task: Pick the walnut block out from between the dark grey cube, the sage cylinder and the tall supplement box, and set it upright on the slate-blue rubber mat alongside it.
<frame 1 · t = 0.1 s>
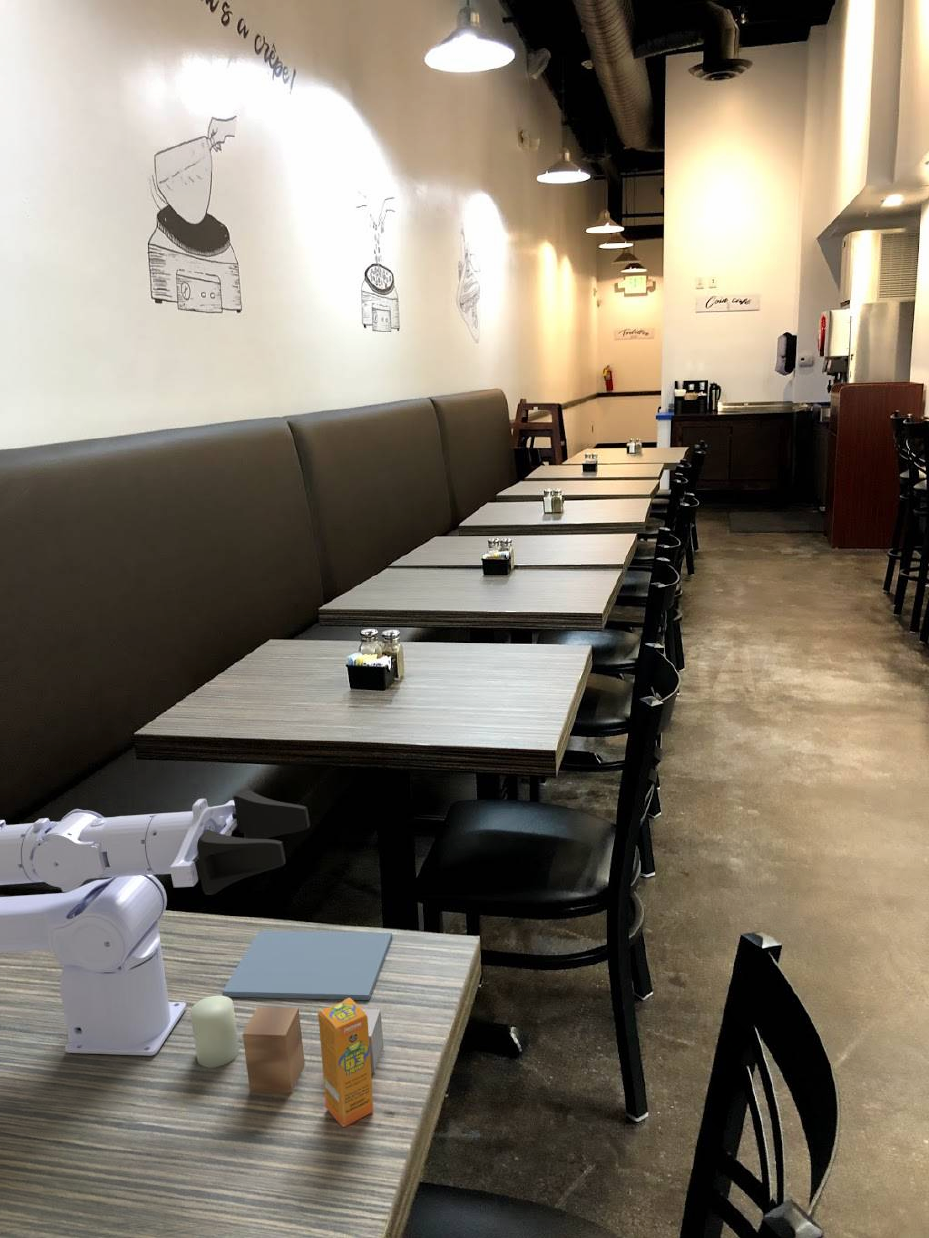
hand: (295, 834, 91), 22 cm above the table, tool horizontal, fingers open, 7 cm apart
supplement box: (351, 1113, 85), on the table
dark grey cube: (358, 1059, 92), on the table
sage cylinder: (218, 1053, 94), on the table
walnut block: (277, 1077, 90), on the table
slate mat: (311, 965, 108), on the table
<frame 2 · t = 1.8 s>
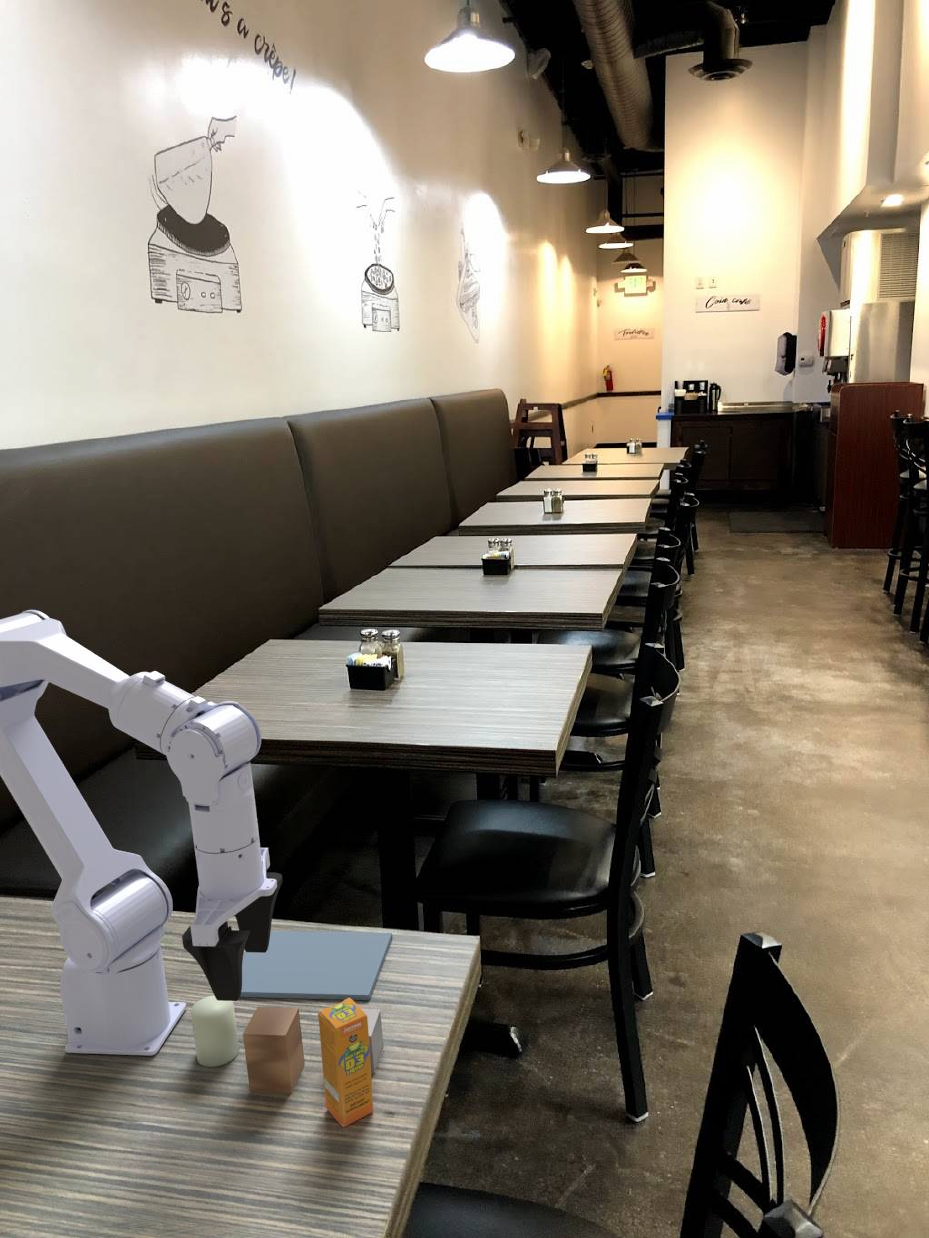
hand: (243, 973, 91), 9 cm above the table, tool pointing down, fingers open, 7 cm apart
nothing on the table moved.
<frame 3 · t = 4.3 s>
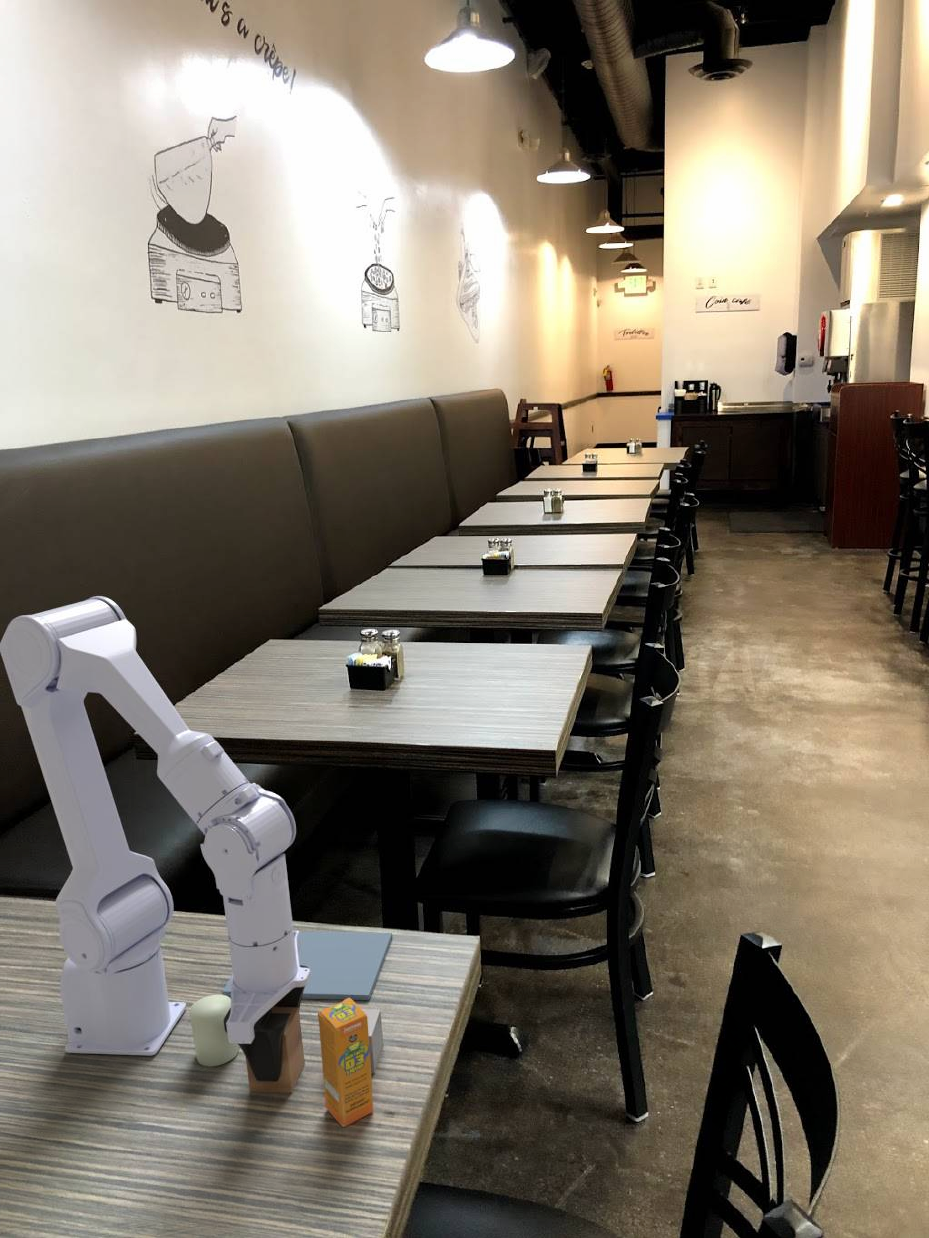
hand: (276, 1061, 90), 2 cm above the table, tool pointing down, fingers closed on walnut block, 4 cm apart
walnut block: (277, 1076, 90), on the table, touching gripper
everything else where it was.
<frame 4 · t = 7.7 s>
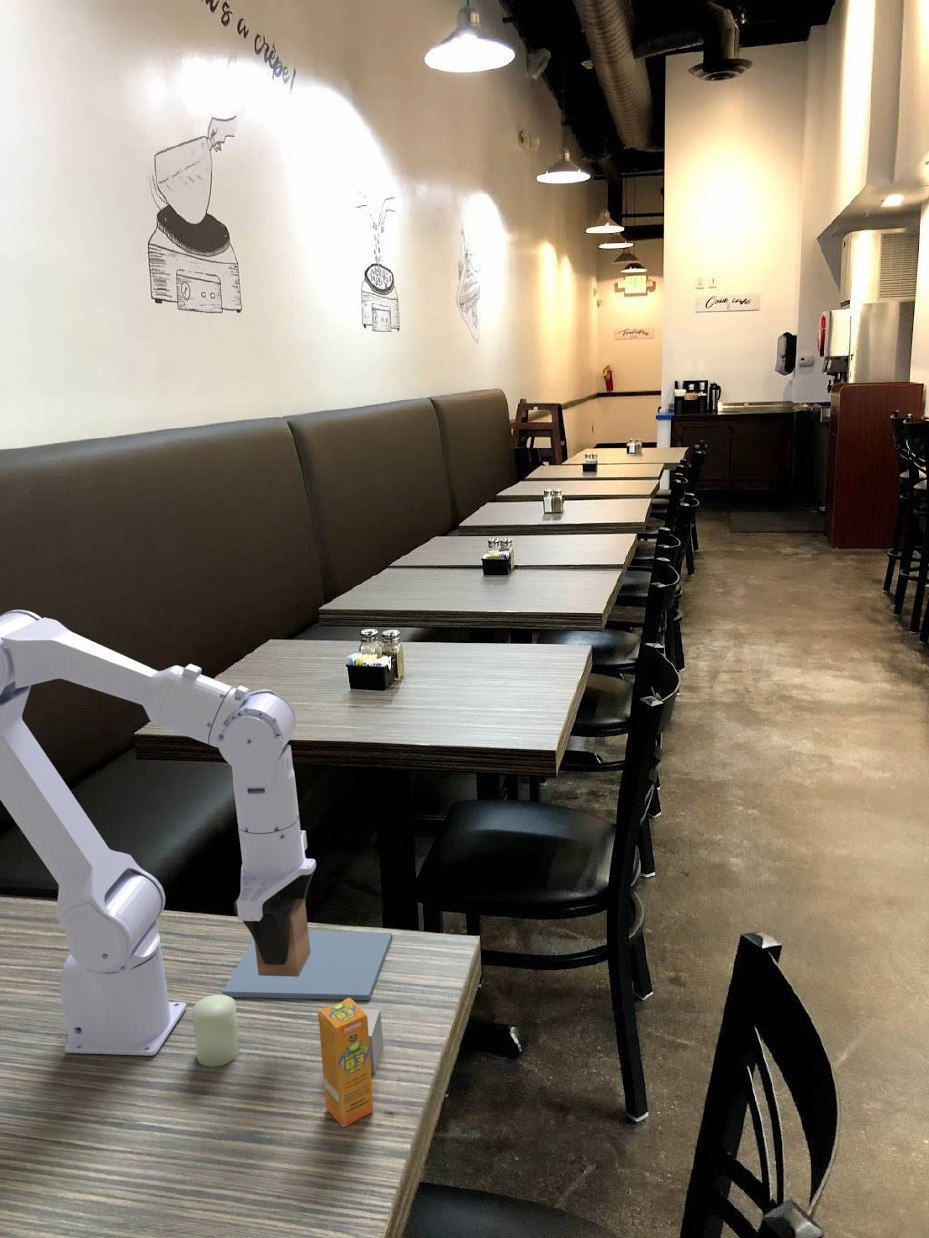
hand: (283, 949, 95), 9 cm above the table, tool pointing down, fingers closed on walnut block, 4 cm apart
walnut block: (285, 964, 96), point 7 cm above the table, touching gripper
everything else where it was.
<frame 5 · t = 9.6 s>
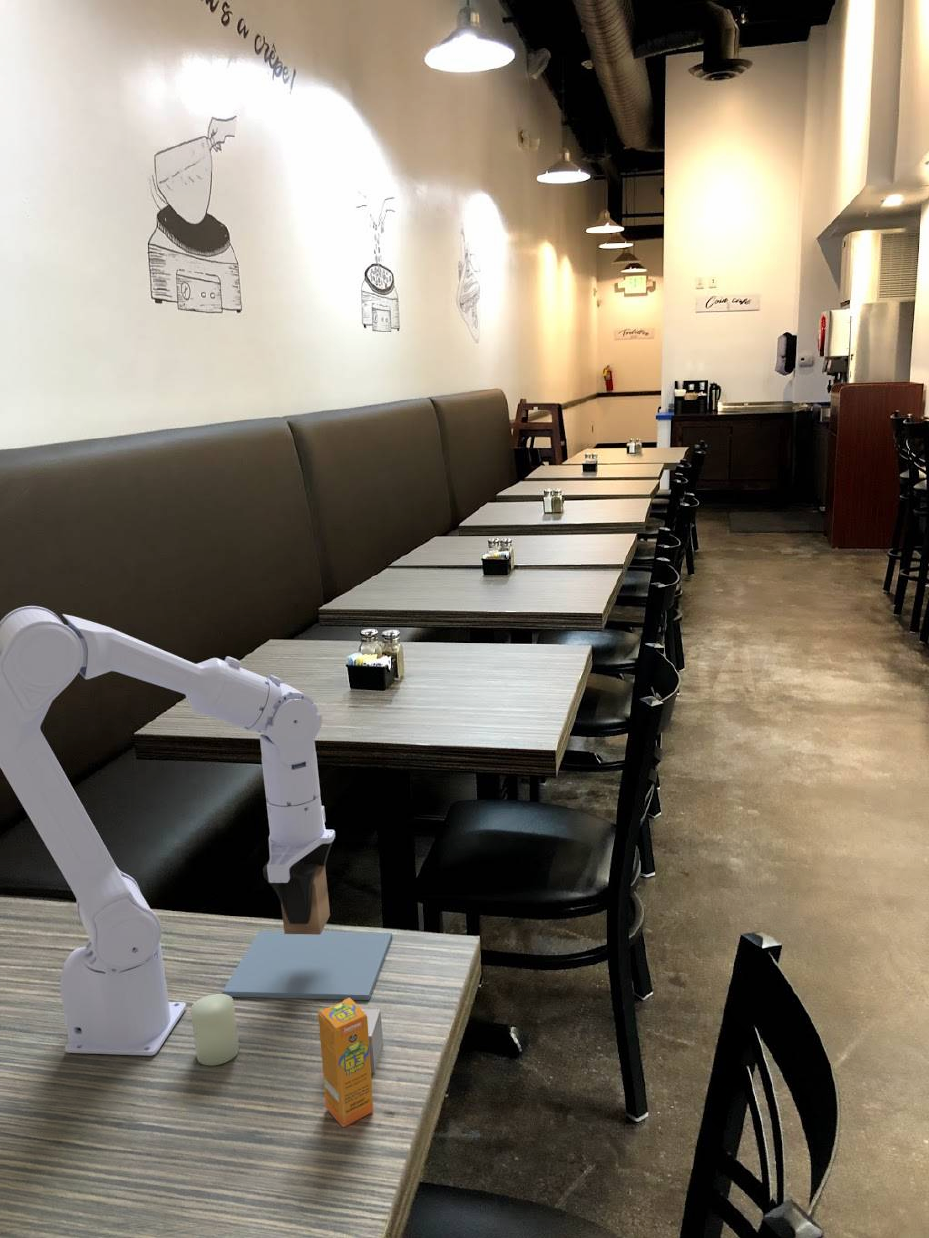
hand: (305, 911, 107), 7 cm above the table, tool pointing down, fingers closed on walnut block, 4 cm apart
walnut block: (307, 924, 107), point 5 cm above the table, touching gripper
everything else where it was.
when the fingers open (3 cm above the table, at t = 11.2 s): walnut block stays where it is, resting on slate mat.
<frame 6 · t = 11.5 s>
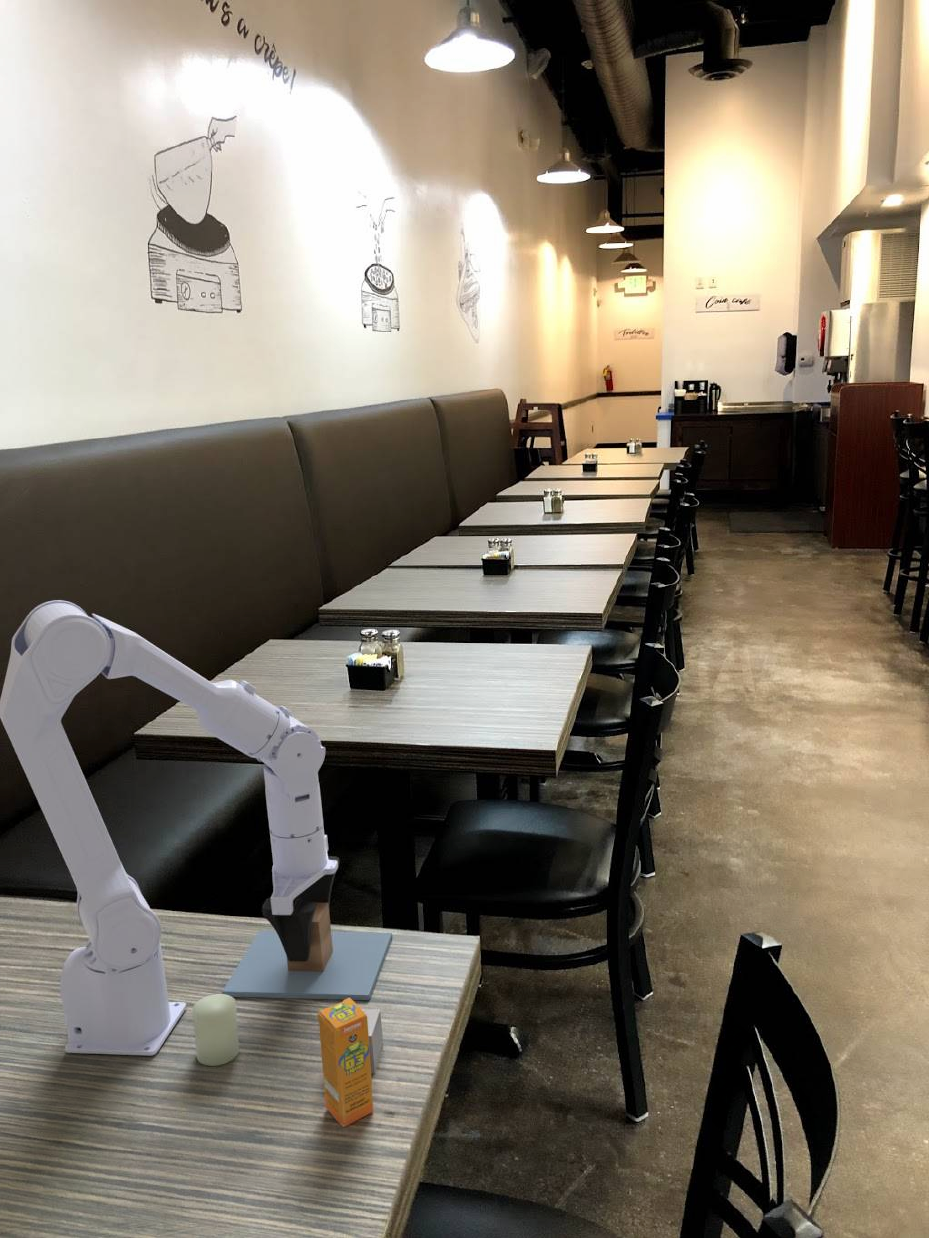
hand: (308, 940, 107), 3 cm above the table, tool pointing down, fingers open, 7 cm apart
walnut block: (310, 960, 108), point 1 cm above the table, touching slate mat
everything else where it was.
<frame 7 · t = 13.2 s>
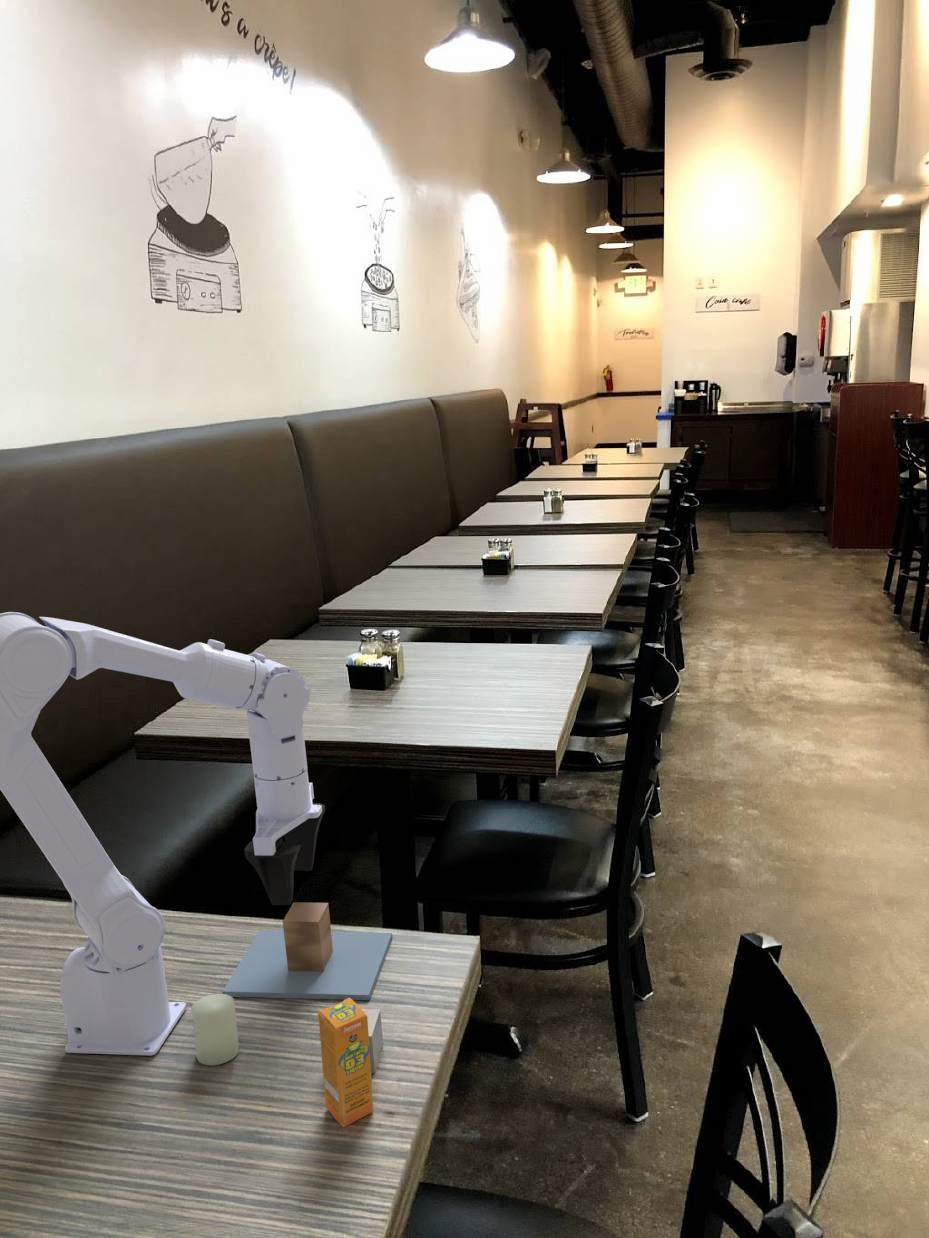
hand: (292, 885, 107), 9 cm above the table, tool pointing down, fingers open, 7 cm apart
nothing on the table moved.
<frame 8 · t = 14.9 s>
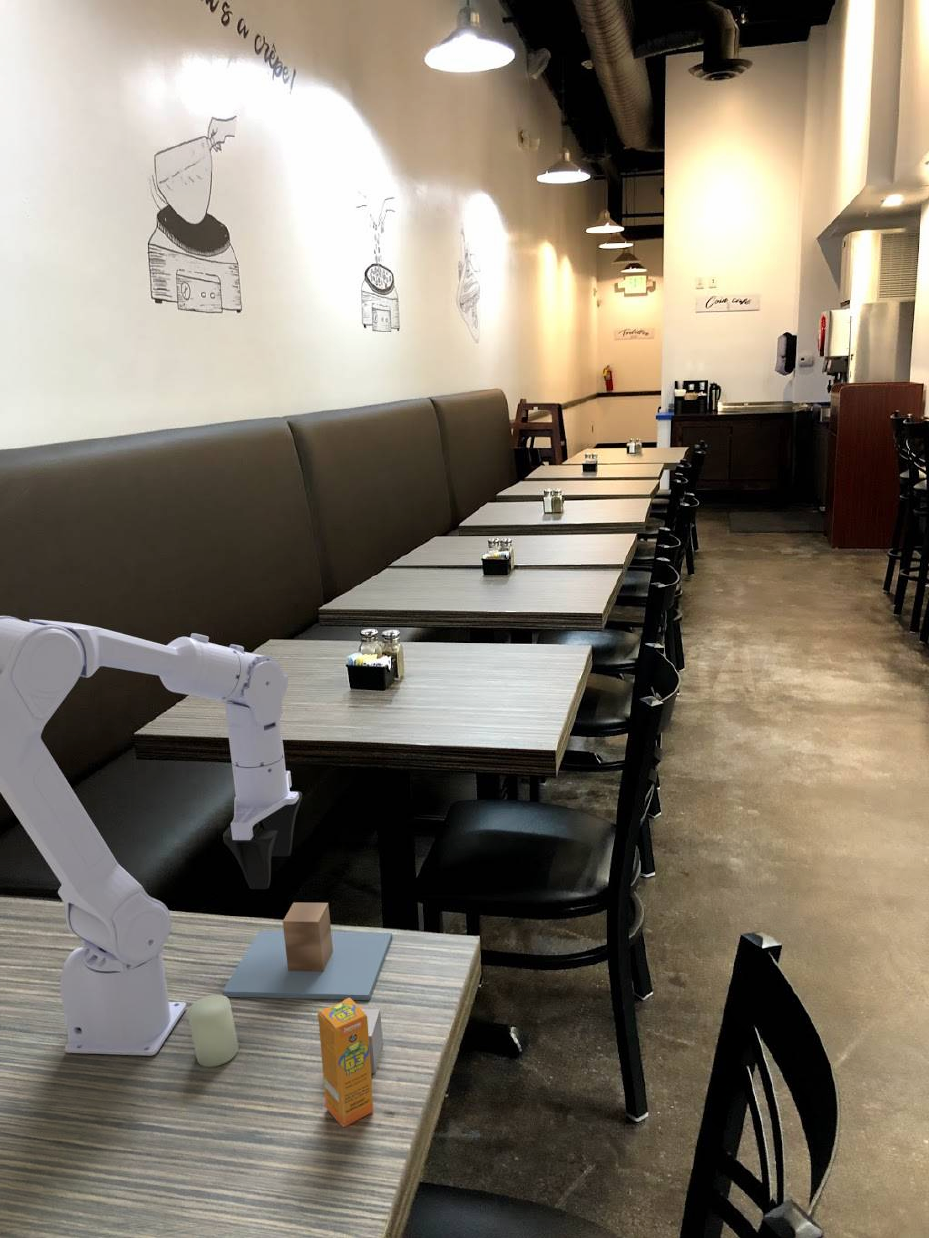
hand: (270, 870, 111), 9 cm above the table, tool pointing down, fingers open, 7 cm apart
nothing on the table moved.
at the end: walnut block inside the target area on the slate mat (0.0 cm from its centre), point 0.6 cm above the slate mat's base; walnut block tilted 0°; the gripper is holding nothing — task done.
